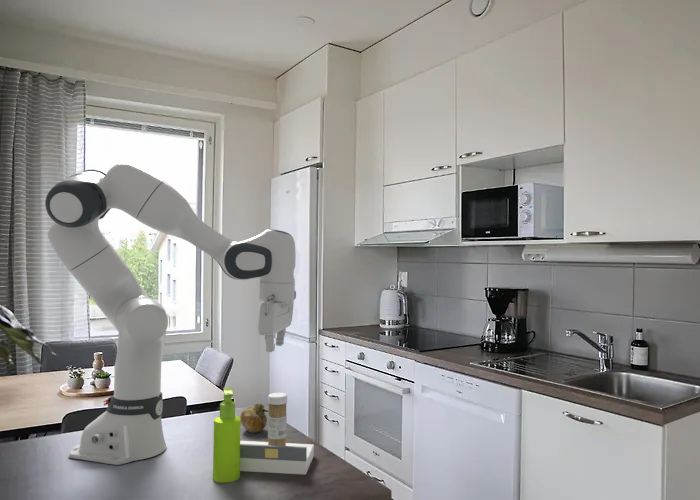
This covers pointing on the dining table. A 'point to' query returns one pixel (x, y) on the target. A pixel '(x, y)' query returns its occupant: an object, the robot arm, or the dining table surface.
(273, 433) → the sprinkles bottle
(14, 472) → the dining table surface
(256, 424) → the onion
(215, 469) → the soap dispenser
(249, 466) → the white slab
